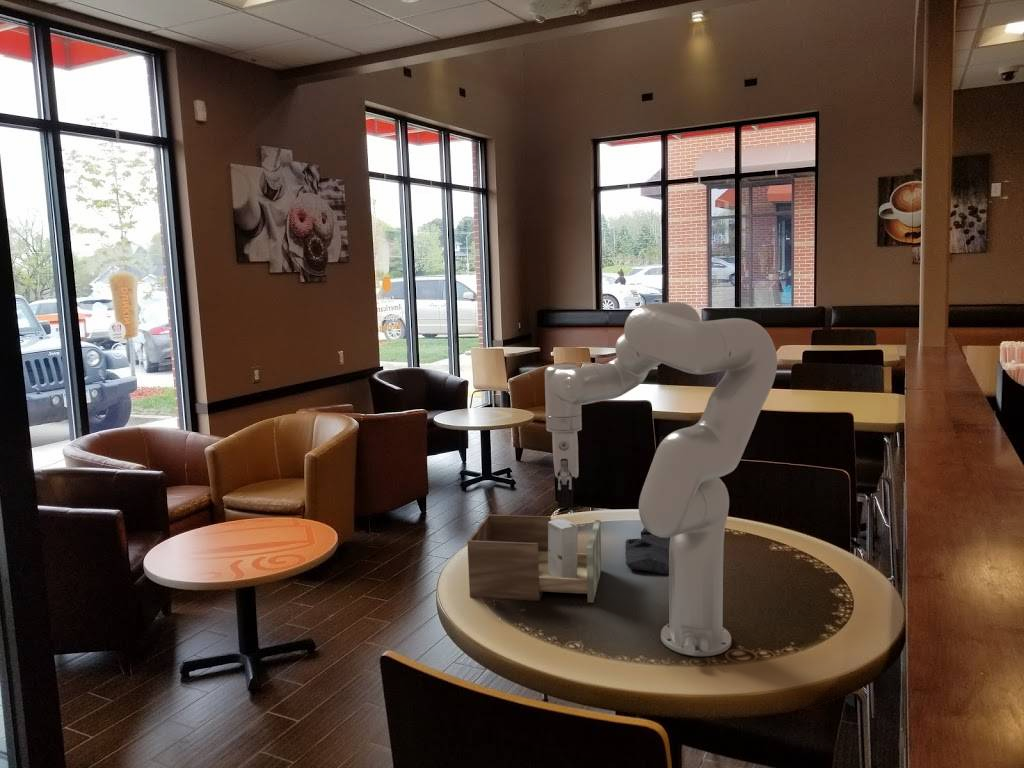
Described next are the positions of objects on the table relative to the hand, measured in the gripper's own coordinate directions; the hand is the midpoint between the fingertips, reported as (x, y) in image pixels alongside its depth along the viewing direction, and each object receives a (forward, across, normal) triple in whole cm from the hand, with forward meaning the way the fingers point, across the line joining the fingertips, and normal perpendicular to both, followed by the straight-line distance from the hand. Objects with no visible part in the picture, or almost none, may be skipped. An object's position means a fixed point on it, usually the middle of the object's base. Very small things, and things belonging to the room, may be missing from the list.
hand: (566, 500), depth 164 cm
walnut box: (+19, +2, +12) cm, 23 cm away
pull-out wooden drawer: (+19, 0, +1) cm, 19 cm away
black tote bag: (+20, +17, -20) cm, 33 cm away
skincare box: (+17, 0, +1) cm, 17 cm away
